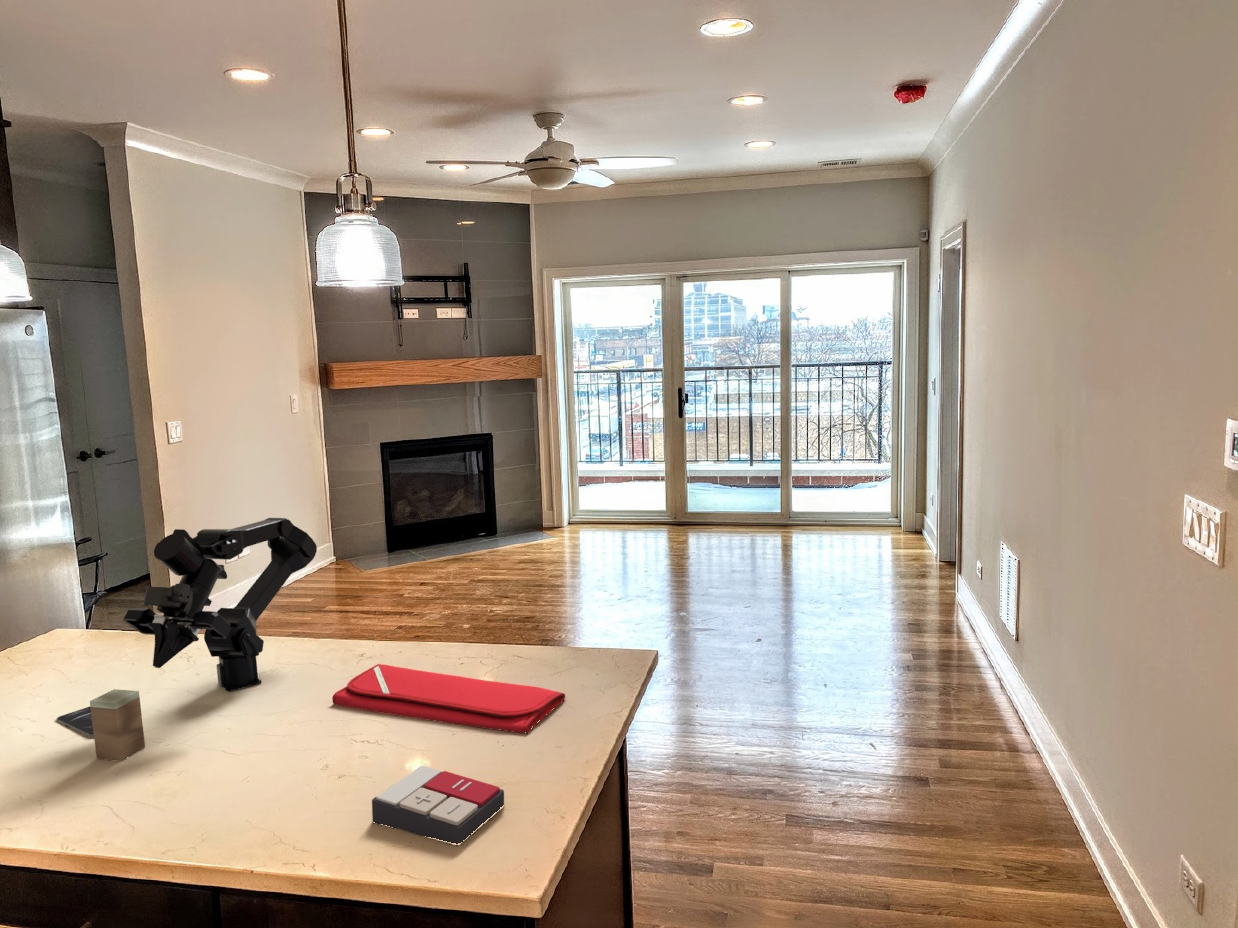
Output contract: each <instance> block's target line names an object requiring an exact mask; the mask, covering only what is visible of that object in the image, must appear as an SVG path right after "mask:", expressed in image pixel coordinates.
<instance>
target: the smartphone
mask: <svg viewBox="0 0 1238 928" xmlns="http://www.w3.org/2000/svg"><path fill="white" fill-rule="evenodd" d="M56 722H57V723H60V724H61V725H63V726H65V727H67V728H69V729H72V730H73V731H74V732H77V733H79V734H82V735H83V736H85V737H86V738H88V739H94V733H93V725H92V716H91V708H90V706H86V707H85V708H82V709H78V710H75V711H72V712H68V713H65V714H63V715H60V716H57V717H56Z"/></svg>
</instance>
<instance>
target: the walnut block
mask: <svg viewBox="0 0 1238 928" xmlns="http://www.w3.org/2000/svg"><path fill="white" fill-rule="evenodd" d="M140 697H141V696H140V691H139V690H129V689H128V690H127V689H117V688H116V689H115V688H113V689H112V690H109V691H108V692H106V693H103V694H102V695H99V696H97V697H95V698H93V699H91V700H89V707H90V708H91V716H92V725H93V733H94V738H93V741H94V747H95V756H96V760H102V759H107V760H106V761H112V760H116V761H115V762H124V761H125V760H127V759H128V758H127V757H129V758H131V757H132V756H133V755H135V754H138V753H139V752H141V751H142V750H144V749H146V743H145V742H146V741H145V733H144V732H145V731H144V725H143V715H142V714H143V713H142V708H141V706H142V705H141V699H140ZM126 758H127V759H126ZM124 759H125V760H124ZM123 760H124V761H123Z"/></svg>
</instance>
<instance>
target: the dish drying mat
mask: <svg viewBox="0 0 1238 928" xmlns="http://www.w3.org/2000/svg"><path fill="white" fill-rule="evenodd" d="M565 699H566V694H565V693H564V692H561V691H556V690H552V689H548V688H543V687H539V686H534V685H525V684H522V685H521V684H517V683H509V682H501V681H493V680H485V679H477V678H472V677H465V676H459V675H453V674H444V673H438V672H433V671H427V670H426V671H425V670H419V669H412V668H408V667H400V666H394V665H389V664H381V663H378V664H376V665H373V666H372V667H370V668H368V669H367V670H365V671H363V672H361V673H360V674H358V675H356V676H354V677H353V678H352V679H350V680H349V681H348V683H347V685H346V686H345V687H343V688H341V689H339V690H337V691H336V692H334V693H333V694H332V699H331V700H332V704H333V705H336V706H340V707H346V708H352V709H358V710H363V711H369V712H375V713H380V714H381V713H382V714H387V715H393V714H394V715H395V716H399V715H401V716H400V717H407V716H408V718H414V717H415V719H420V718H421V720H426V719H427V720H428V721H432V720H436V721H435V722H439V721H442V722H441V723H445V722H447V723H446V724H452V723H454V724H453V725H459V724H461V725H460V726H467V725H468V727H474V726H477V727H476V728H480V727H485V728H484V729H487V728H492V729H491V730H495V729H501V730H500V731H503V730H507V731H506V732H510V731H514V732H513V733H518V732H526V733H527V732H529V731H530V730H531V728H532V726H535V725H536V724H537V722H538V721H539V720H541V719H542V718H543V717H544V716H545V715H546V714H548V715H549V714H550V713H551V712H552V711H553V710H552V709H553V708H555V707H556V706H557V705H558V704H559V703H561V702H562V703H563V702H564V701H565ZM562 703H561V704H562ZM559 705H560V704H559ZM559 705H558V706H559ZM558 706H557V707H558ZM557 707H556V708H557ZM556 708H555V709H556ZM551 710H552V711H551ZM550 711H551V712H550ZM549 712H550V713H549ZM544 718H545V717H544ZM544 718H543V719H544ZM543 719H542V720H543ZM542 720H541V721H542ZM537 725H538V724H537ZM537 725H536V726H537ZM536 726H535V727H536ZM531 731H532V730H531ZM531 731H530V732H531ZM530 732H529V733H530ZM526 733H525V734H526Z"/></svg>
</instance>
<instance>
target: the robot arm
mask: <svg viewBox="0 0 1238 928" xmlns="http://www.w3.org/2000/svg"><path fill="white" fill-rule="evenodd" d="M264 542H267V546H268V548H269V549H270V560H271V561H270V562H269V563H268V565H267V566H266V567H265V569H264V570H263V571H262V573H261V574H260V575H259V576H258V578H257V579H256V581H254V582H253V584H252V585H251V586H250V588H249V589H248V590H247V591H246V593H245V594H244V595H243V597H242V598H241V599H240V600H239V602H238V603H237V604H236V605H235V606H234V607H220V608H219V609H218V610H217V611H211V610H210V611H209V610H204V607H210V606H211V604H212V603H213V601H212V600H211V599H210V595H211V593H212V591H213V589H214V587H215V585H216V582H217V581H218V579H219V580H227V579H228V574H227V572H226V569H225V565H224V564H218V563H217V562H216V561H215V560H225V561H226V560H232V559H234V558H236V557H237V556H239V555H240V554H242V553H243V551H244V550H245V549H246V548H248V547H251V546H254V545H258V544H262V543H264ZM154 546H155V547H154V549H153V556H154V557H155V558H156V559H157V560H158V561H159V562H160V563H161V564H162V565H163V566H165V567H166V568H167V569H168V570H170V572H172V573H173V574H174V575H176V576H178V577H179V576H180V577H181V578H180V580H179V582H178V583H175V584H174V585H173V584H172V585H171V586H169V587H168V586H167V587H166V586H146V591H145V593H144V600H143V603H142V605H144V606H148V605H150V606H155V607H157V608H156V610H157V611H158V612H159V613H162V614H157V613H156V612H154V611H153V610H152V609H151V608H148V607H147V608H146V607H132V608H130V609H128V610H127V611H126V613H125V615H124V617H123V619H122V621H123V622H125V623H126V624H127V625H128V626H130V627H131V628H133V629H134V630H136V631H137V632H138V633H140V634H142V635H149V636H151V635H153V636H154V646H153V647H154V651H153V658H152V667H154V668H155V669H159V668H160V669H161V668H162V667H163V666H164V665H165V664H167V663H168V662H169V661H171V659H172V658H174V657H176V655H178V654H179V653H180V652H182V651H183V650H184V649H185V648H187V647H188V646H190V645H192V644H193V643H194V642H199V640H200V638H199V637H198V636H199V633H200V631H202V630H205V631H204V633H203V639H204V642H205V645H206V647H207V649H208V651H209V655H210V657H213V658H214V657H217V658H218V663H217V664H216V673H217V682H218V685H219V686H220V687H221V688H223V689H224V691H226V692H228V693H229V692H234V691H237V690H240V689H241V690H242V689H245V688H248V687H249V688H250V687H252V686H253V687H254V686H256V685H260V684H262V680H261V679H260V678H259V675H258V674H259V673H258V664H257V657H258V656H259V655H260V653H262V652H263V649H264V640H263V638H261V637H260V636H258V635H257V620H258V619H259V618H260V616H262V614H263V613H264V611H265V610H266V608H267V607H268V606H269V604H270V603H271V602H272V600H273V599H274V598H275V596H276V595H277V594H278V593H279V591H280V590H281V588H282V587H283V586H284V585H285V584H286V582H287V581H288V580H289V578H290V576H291V575H293V574H294V573H296V572H298V571H300V570H303V569H305V568H306V567H307V566H308V565H309V564H310V563H311V562H312V561H313V560H314V559H315V557H316V554H317V550H318V548H317V547H318V546H317V544H316V542H315V541H314V539H313V538H312V537H311V536H310V535H309V533H307V531H304V530H302V529H301V528H299V527H297V525H294V523H293V522H292V521H291V520H290V519H288V518H286V517H268V518H265V519H264V520H261V521H256V522H253V523H248V524H246V525H241V526H237V527H234V528H210V529H209V528H203V529H201V530H198V532H196V536H194V537H191V535H190V534H189V532H188V531H187V530H186V529H183V528H182V529H180V528H177V529H174V530H173V532H172V534H168V535H167V536H165V537H164V538H162V539H161V540H160V541H159V542H157V543H156V545H154Z"/></svg>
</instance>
